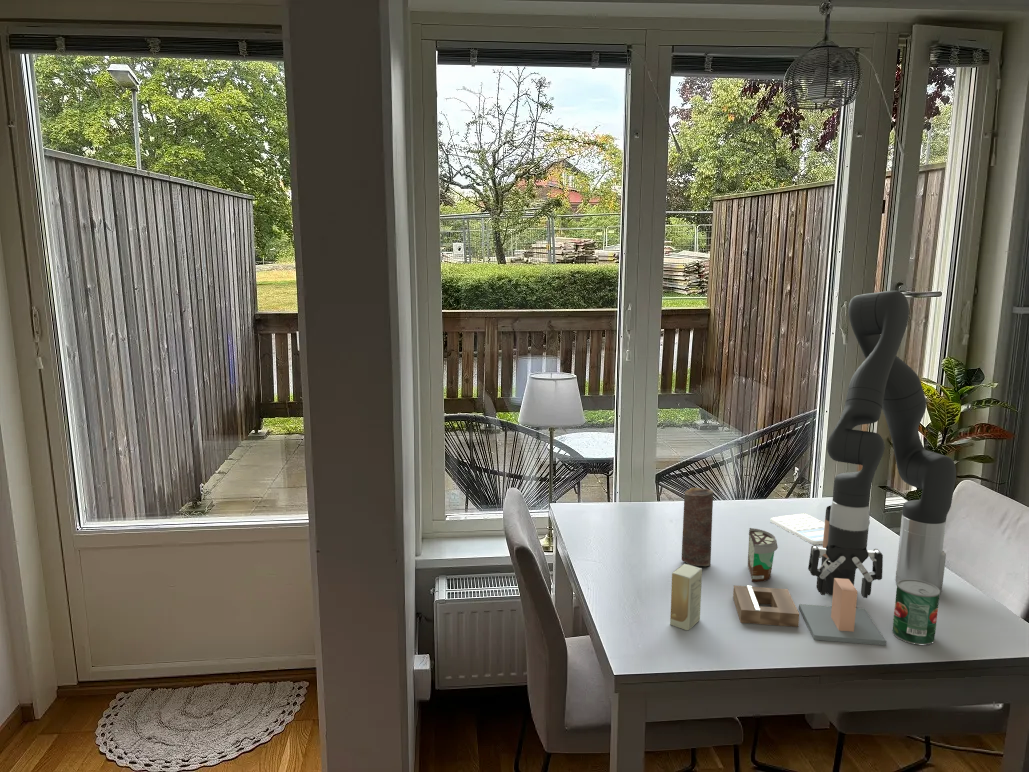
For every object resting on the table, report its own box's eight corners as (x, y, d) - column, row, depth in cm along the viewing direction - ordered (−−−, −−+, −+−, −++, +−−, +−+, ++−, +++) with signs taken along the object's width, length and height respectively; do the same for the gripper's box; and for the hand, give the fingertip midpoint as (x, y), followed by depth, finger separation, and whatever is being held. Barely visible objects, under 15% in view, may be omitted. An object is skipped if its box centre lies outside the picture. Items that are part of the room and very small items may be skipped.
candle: (698, 572, 183) (701, 496, 179) (674, 563, 188) (678, 489, 185) (716, 564, 187) (720, 490, 184) (692, 555, 193) (696, 483, 190)
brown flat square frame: (786, 601, 167) (787, 587, 167) (798, 627, 156) (799, 612, 155) (733, 597, 169) (733, 584, 169) (740, 622, 158) (741, 608, 157)
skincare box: (682, 614, 161) (684, 562, 159) (700, 620, 159) (703, 567, 156) (668, 625, 156) (671, 572, 154) (687, 631, 154) (689, 577, 152)
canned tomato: (884, 627, 156) (889, 579, 154) (919, 625, 156) (924, 578, 155) (906, 646, 148) (911, 596, 146) (943, 645, 149) (949, 595, 147)
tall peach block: (845, 617, 158) (848, 578, 156) (853, 631, 152) (857, 591, 150) (830, 616, 158) (834, 578, 157) (838, 630, 152) (842, 590, 151)
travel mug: (833, 599, 169) (840, 517, 165) (812, 585, 176) (818, 506, 172) (861, 595, 171) (868, 514, 167) (839, 581, 178) (845, 503, 174)
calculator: (804, 517, 223) (805, 511, 223) (853, 541, 204) (853, 535, 204) (768, 522, 219) (768, 516, 219) (814, 547, 200) (814, 540, 200)
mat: (864, 612, 162) (864, 608, 162) (885, 645, 148) (886, 640, 148) (798, 608, 164) (799, 603, 164) (813, 639, 151) (814, 635, 150)
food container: (779, 586, 175) (781, 547, 173) (752, 584, 176) (755, 545, 174) (771, 565, 187) (774, 529, 185) (746, 563, 188) (749, 527, 186)
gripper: (879, 518, 155) (872, 589, 158) (809, 514, 157) (803, 585, 160) (891, 531, 148) (884, 605, 150) (817, 527, 150) (812, 600, 153)
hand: (842, 595), depth 155 cm, fingers open, 8 cm apart
